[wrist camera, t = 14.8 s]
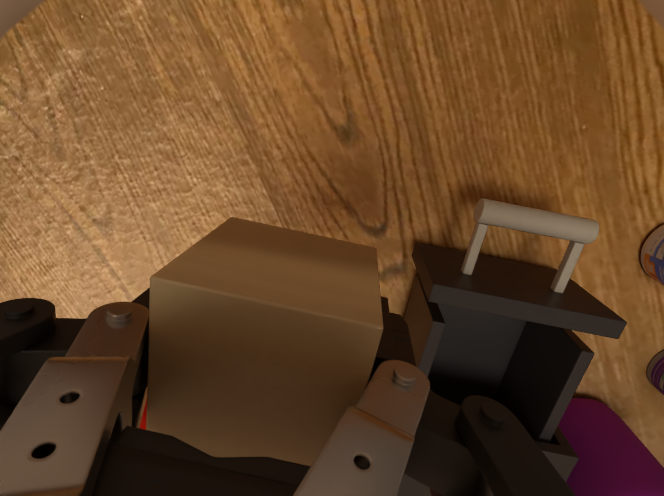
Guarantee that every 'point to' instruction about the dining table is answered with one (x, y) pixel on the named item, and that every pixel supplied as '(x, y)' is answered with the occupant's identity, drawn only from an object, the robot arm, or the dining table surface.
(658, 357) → the container
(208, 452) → the block
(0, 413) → the robot arm
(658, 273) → the pill bottle
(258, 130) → the dining table surface
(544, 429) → the sliding drawer
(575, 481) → the beverage can
